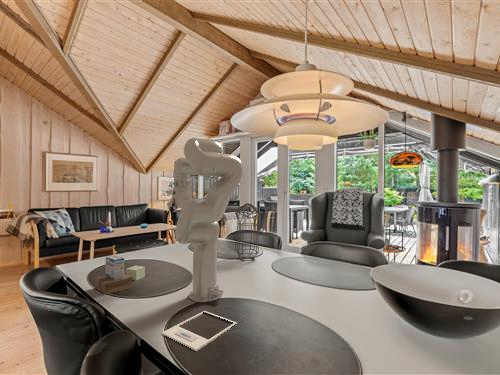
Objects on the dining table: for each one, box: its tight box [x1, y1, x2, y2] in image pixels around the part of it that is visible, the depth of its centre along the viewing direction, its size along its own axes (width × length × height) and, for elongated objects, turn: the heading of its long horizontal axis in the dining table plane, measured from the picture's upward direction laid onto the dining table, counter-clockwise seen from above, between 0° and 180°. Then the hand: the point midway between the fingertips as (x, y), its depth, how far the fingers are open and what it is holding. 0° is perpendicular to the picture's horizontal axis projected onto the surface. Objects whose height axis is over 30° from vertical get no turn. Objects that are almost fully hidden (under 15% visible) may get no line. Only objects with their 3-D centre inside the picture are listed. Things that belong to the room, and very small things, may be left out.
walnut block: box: [95, 272, 133, 296], centre depth 117 cm, size 11×11×5 cm
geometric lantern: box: [233, 202, 264, 262], centre depth 169 cm, size 16×16×35 cm
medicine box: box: [104, 255, 125, 280], centre depth 118 cm, size 8×4×9 cm, turn 55°
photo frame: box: [161, 310, 238, 352], centre depth 84 cm, size 15×1×18 cm
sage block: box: [125, 265, 146, 281], centre depth 131 cm, size 6×6×5 cm
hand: (181, 219), depth 133 cm, fingers open, 9 cm apart
